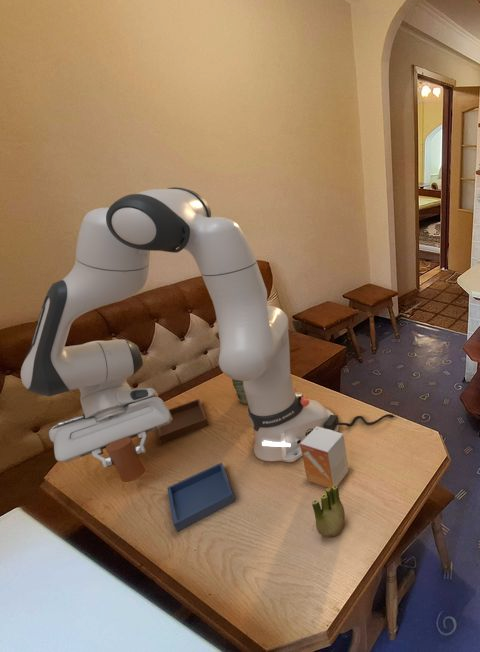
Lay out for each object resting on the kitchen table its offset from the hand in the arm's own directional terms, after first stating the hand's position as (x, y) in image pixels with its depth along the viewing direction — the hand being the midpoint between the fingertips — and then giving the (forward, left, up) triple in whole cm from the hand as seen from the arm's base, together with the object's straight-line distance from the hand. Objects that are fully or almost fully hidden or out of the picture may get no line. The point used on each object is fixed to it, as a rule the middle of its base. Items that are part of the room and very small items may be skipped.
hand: (126, 459), depth 84 cm
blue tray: (-11, +13, -9) cm, 20 cm away
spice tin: (0, -1, -5) cm, 5 cm away
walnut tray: (-11, -20, -9) cm, 25 cm away
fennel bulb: (-31, +41, -10) cm, 52 cm away
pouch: (-31, -20, -10) cm, 38 cm away
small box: (-36, +27, -10) cm, 46 cm away
